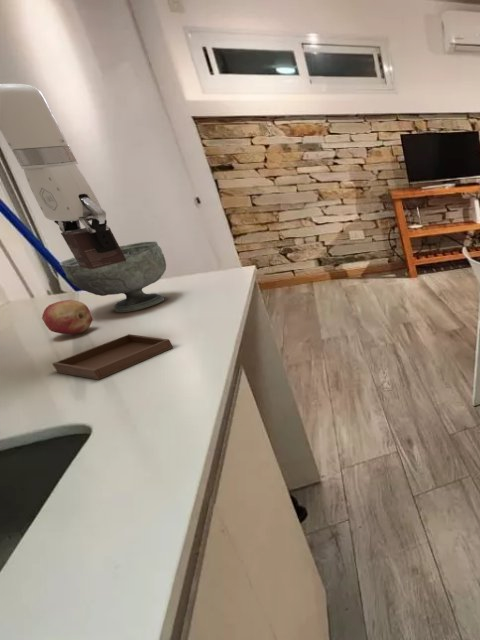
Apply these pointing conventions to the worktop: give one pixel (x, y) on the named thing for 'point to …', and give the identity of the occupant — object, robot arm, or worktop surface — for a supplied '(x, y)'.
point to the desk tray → (112, 356)
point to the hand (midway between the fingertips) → (95, 249)
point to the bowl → (123, 276)
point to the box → (91, 250)
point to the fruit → (67, 317)
